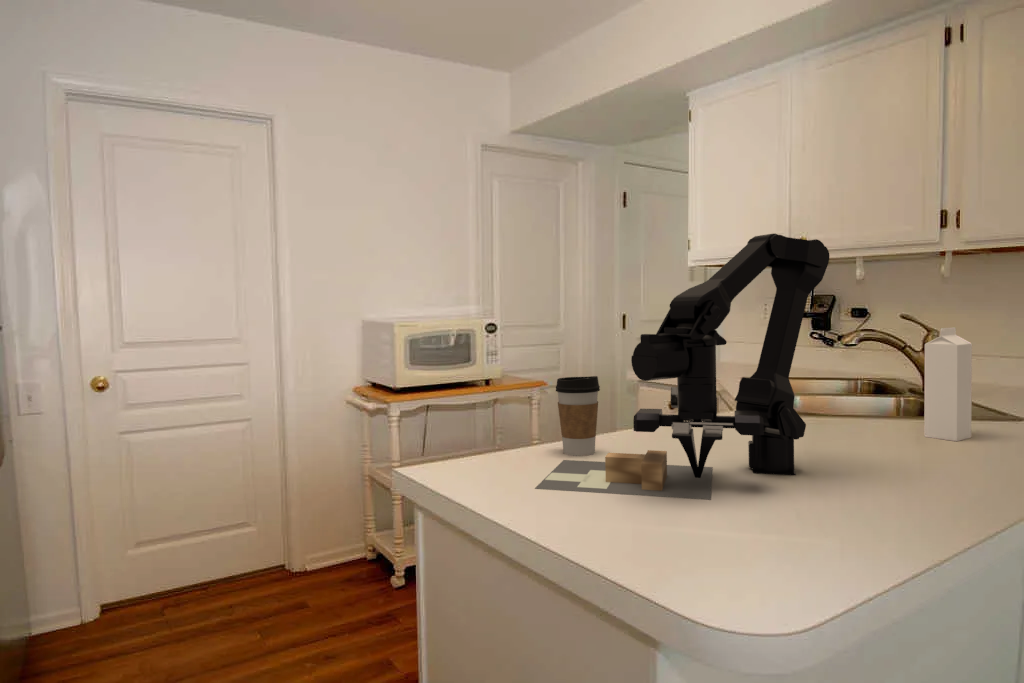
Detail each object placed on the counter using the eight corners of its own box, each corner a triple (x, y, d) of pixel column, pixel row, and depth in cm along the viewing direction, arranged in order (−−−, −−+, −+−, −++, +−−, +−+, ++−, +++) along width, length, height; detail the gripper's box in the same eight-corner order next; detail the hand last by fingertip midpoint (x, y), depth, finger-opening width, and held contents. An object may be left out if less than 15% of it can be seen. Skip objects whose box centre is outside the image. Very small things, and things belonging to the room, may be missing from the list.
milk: (924, 437, 129) (923, 328, 128) (939, 433, 132) (938, 326, 131) (957, 441, 124) (957, 328, 123) (972, 437, 127) (972, 326, 126)
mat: (712, 469, 108) (712, 466, 108) (710, 502, 90) (710, 499, 90) (563, 462, 117) (563, 459, 117) (534, 491, 99) (534, 488, 99)
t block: (667, 475, 104) (666, 451, 104) (662, 490, 96) (661, 464, 95) (611, 472, 107) (611, 448, 107) (602, 487, 98) (601, 461, 98)
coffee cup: (587, 461, 116) (585, 379, 116) (548, 456, 122) (546, 377, 121) (609, 452, 123) (607, 375, 122) (572, 447, 128) (570, 373, 127)
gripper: (759, 370, 102) (760, 467, 103) (640, 370, 108) (642, 461, 109) (763, 378, 92) (764, 486, 92) (632, 377, 97) (634, 479, 98)
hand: (697, 477), depth 98 cm, fingers closed
